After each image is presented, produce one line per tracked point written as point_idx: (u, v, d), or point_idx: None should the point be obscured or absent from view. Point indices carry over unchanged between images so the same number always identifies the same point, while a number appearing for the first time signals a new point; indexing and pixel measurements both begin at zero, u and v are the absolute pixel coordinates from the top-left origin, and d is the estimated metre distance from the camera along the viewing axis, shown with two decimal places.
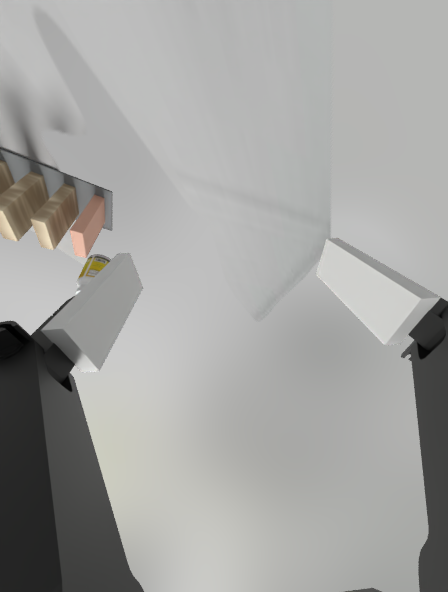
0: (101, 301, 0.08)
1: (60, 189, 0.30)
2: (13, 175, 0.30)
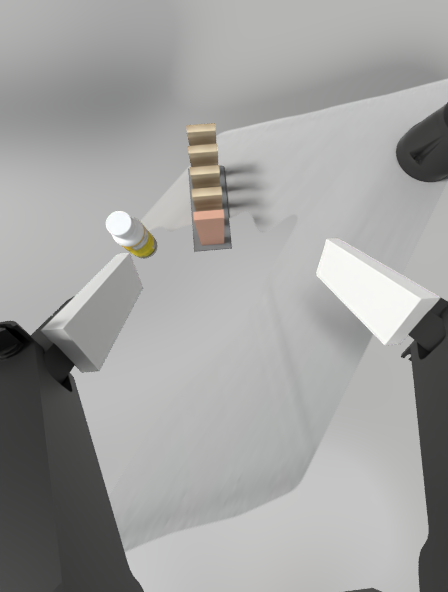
0: (101, 301, 0.08)
1: None
2: None
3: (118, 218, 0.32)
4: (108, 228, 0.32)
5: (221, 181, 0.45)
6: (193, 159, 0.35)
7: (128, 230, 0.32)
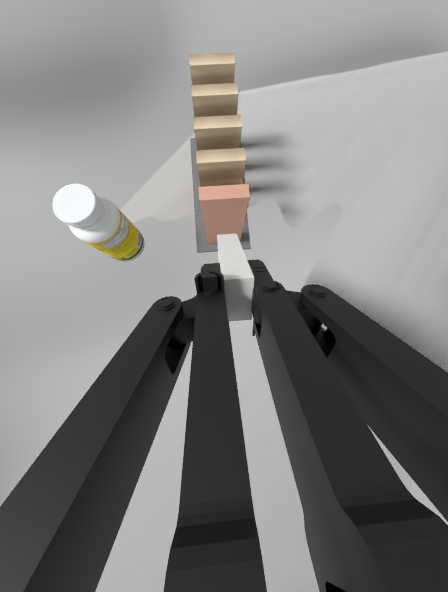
0: None
1: None
2: None
3: (74, 195, 0.19)
4: (56, 211, 0.19)
5: None
6: (200, 108, 0.22)
7: (90, 216, 0.19)
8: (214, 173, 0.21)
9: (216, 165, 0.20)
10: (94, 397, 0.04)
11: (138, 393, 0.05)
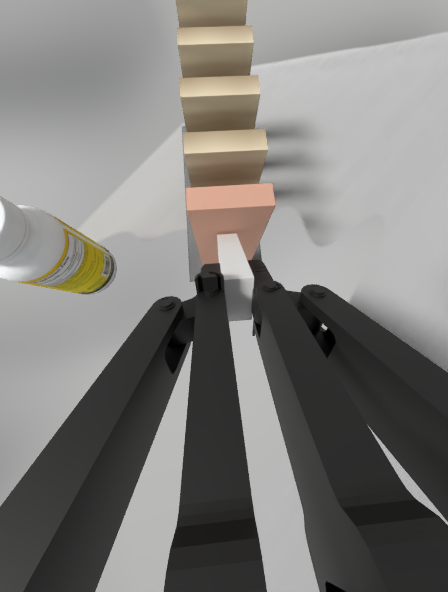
0: None
1: None
2: None
3: None
4: None
5: None
6: (191, 68, 0.14)
7: None
8: (214, 171, 0.13)
9: (217, 158, 0.12)
10: (94, 397, 0.04)
11: (138, 393, 0.05)
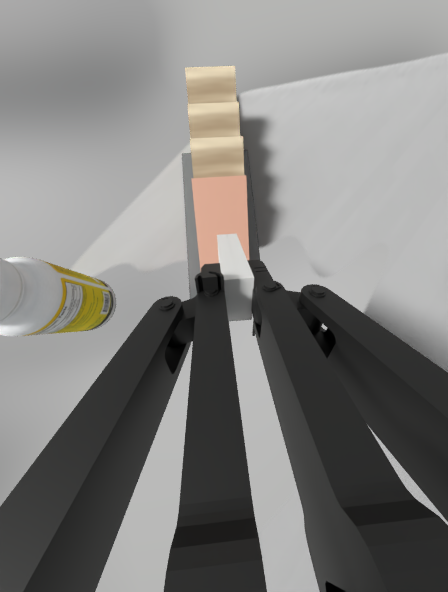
0: None
1: None
2: None
3: None
4: None
5: None
6: (193, 81, 0.20)
7: None
8: (209, 154, 0.19)
9: (211, 142, 0.18)
10: (94, 397, 0.04)
11: (138, 393, 0.05)
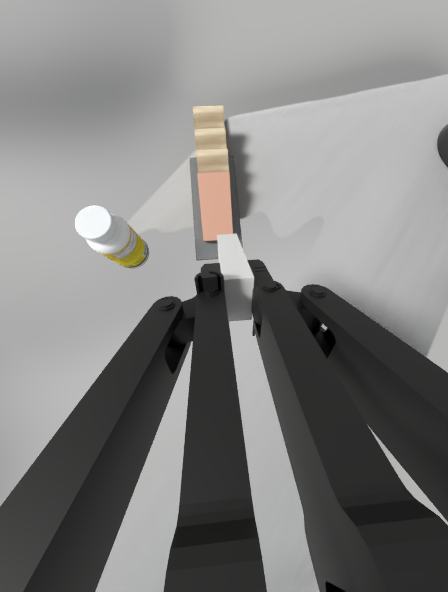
0: None
1: None
2: None
3: (93, 215, 0.23)
4: (78, 229, 0.23)
5: (230, 174, 0.36)
6: (197, 114, 0.32)
7: (107, 232, 0.23)
8: (207, 159, 0.31)
9: (208, 152, 0.31)
10: (94, 397, 0.04)
11: (138, 393, 0.05)
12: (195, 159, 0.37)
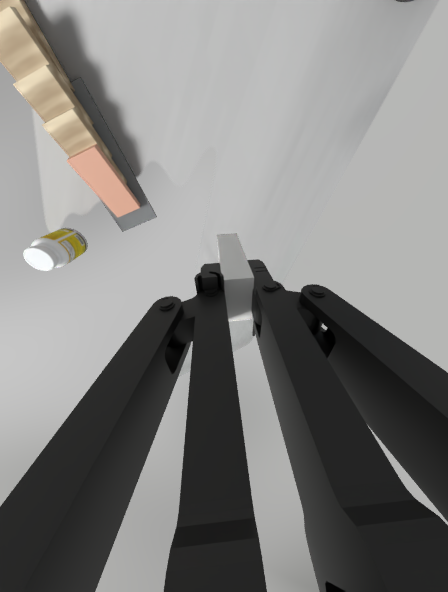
0: None
1: (119, 170, 0.34)
2: None
3: (34, 255, 0.33)
4: (35, 267, 0.34)
5: (95, 116, 0.31)
6: None
7: (54, 263, 0.34)
8: (62, 132, 0.28)
9: (56, 122, 0.27)
10: (94, 397, 0.04)
11: (138, 393, 0.05)
12: None
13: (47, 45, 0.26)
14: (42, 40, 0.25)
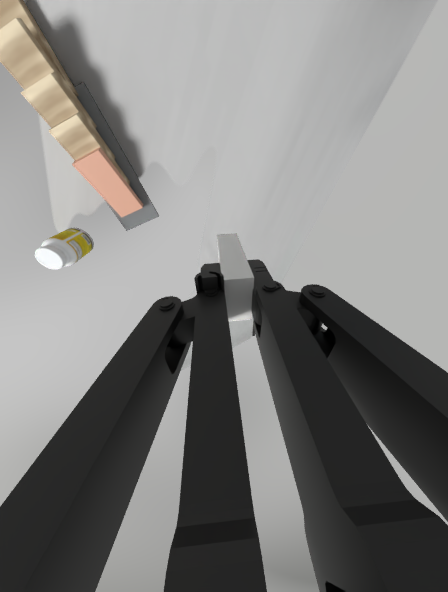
0: None
1: (122, 171, 0.35)
2: None
3: (45, 255, 0.35)
4: (46, 266, 0.36)
5: (98, 119, 0.32)
6: (0, 53, 0.24)
7: (63, 262, 0.36)
8: (67, 137, 0.29)
9: (62, 128, 0.28)
10: (94, 397, 0.04)
11: (138, 393, 0.05)
12: None
13: (51, 52, 0.27)
14: (46, 47, 0.26)
